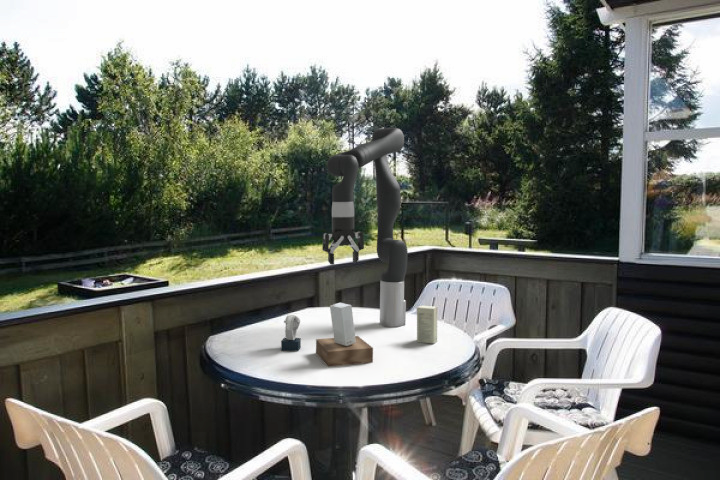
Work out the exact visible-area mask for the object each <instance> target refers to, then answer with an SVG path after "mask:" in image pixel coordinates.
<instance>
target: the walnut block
mask: <svg viewBox="0 0 720 480" xmlns="http://www.w3.org/2000/svg"><path fill="white" fill-rule="evenodd" d="M355 339H356V343H354V344H351V345H348V346H344V345H341V344H338V343H335V342H334V337H328V338H327V337H326V338H316V339H315V354H316V356H318V357H319V358H320V360H321V361H322V362H323V363H324V365H326V366H327V367H328V368H330V367H340V366H350V365H359V364H368V363H369V364H370V363H374V347H373V346H371V345H370V343H367V342H366V340H364V339H362V338H361V337H360V336H358V335H355Z"/></svg>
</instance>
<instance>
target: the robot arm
mask: <svg viewBox="0 0 720 480" xmlns="http://www.w3.org/2000/svg"><path fill="white" fill-rule="evenodd" d="M404 145H405V135H404V133H403V131H402V130H401V129H400V128H397V127H387V128H386V127H385V128H378V129H375V130H374V131H373V133H372V137H371V141H369V142H368V141H367V142H364V143H362V144H359V145H357V146H355V147H353V148H351V149H350V150H349V149H348V150H346V151H343V152H339V153H336V154H333V155H332V156H330V157H329V158H328V160H327V162H326V169H327V172H328V174H330V175H331V176H332V177H338V178H339V177H342V180H341V182H339V183H337V184H336V183H335V184H334V185H333V186H332V192H331V193H332V195H331V196H332V199H331V201H332V205H331V230H332V231H331V233H326V232H325V233H323V234H322V248H321V249H322V251H323V252H326V253H327V257H328V258H327V261H328V263H329V265H332V266H333V265H335V254H334V252H335V250H336V249H337V248H338V247H344V246H349V247H350V248H351V249H352V262H353V263H358V261H359V260H360V259H359V255H360V254H359V252H360V251H363V250H364V248H365V244H364V241H365V240H364V233H363V232H362V231H357V232H355V204H354V189H355V184H356V180H357V175H358V172H359V169H361V168H363V167H365V166H366V165H368V164H369V163H371V162H374V168H375V169H374V170H375V184H376V185H375V187H376V189H375V191H376V193H375V194H376V195H375V196H376V208H377V210H376V211H377V233H376V235H377V237H376V253H377V254H376V255H377V258H378V259H379V260H380V261H381V262H383V263H387V264H388V267H387V270H385V271H383V272H381V273H380V277H379V278H380V284H379V285H380V287H379V288H380V289H379V290H380V292H379V325H381V326H383V327H387V328H388V327H389V328H391V327H392V328H398V327H402V326H405V325H406V319H407V317H406V315H407V313H406V312H407V307H406V306H407V300H405V277H406V274H407V271H408V269H407V266H408V256H409V255H408V254H409V253H408V247H407V244H406V242H405V241H404V240H401V239H394V225H395V221H396V218H397V216H398V214H399V212H400V209H401V204H402V199H401V197H402V196H401V195H402V194H401V186H400V183H399V182H398V181H397V178H396V177H395V175H394V174H393V172H392V170H391V169H390V167H389V161H388V155H389V154H392V153H398V152H400V151H401V150H403V147H404ZM331 239H332V241H331V243H330V240H331ZM354 239H357V240H356V241H357V243H356V242H355V241H354Z"/></svg>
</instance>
